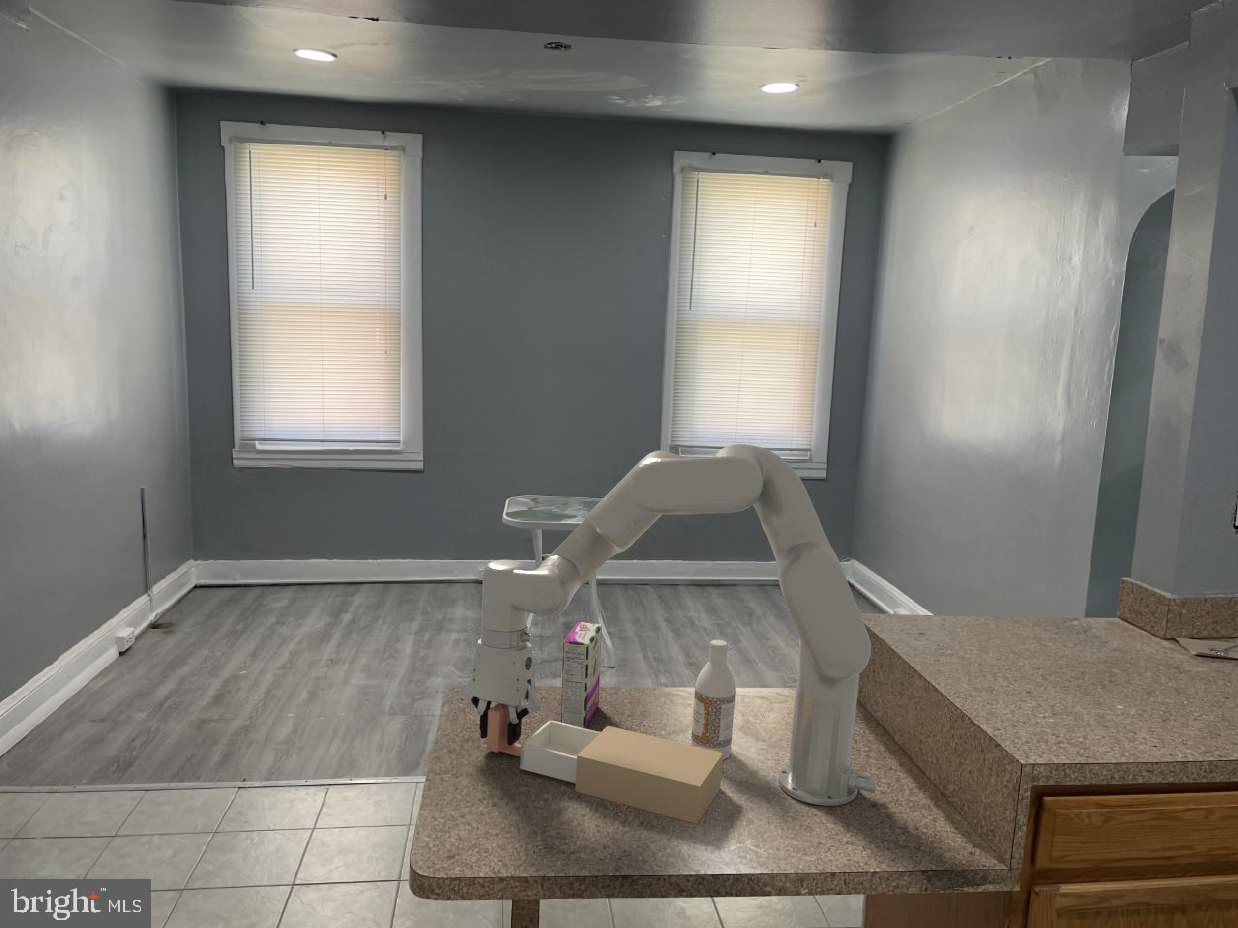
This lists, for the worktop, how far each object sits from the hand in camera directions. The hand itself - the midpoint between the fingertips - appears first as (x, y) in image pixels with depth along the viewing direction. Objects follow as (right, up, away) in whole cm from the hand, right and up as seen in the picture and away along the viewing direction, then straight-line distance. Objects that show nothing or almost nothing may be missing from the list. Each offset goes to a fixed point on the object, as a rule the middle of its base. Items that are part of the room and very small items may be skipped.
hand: (499, 737), depth 157 cm
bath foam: (+36, -4, +4) cm, 36 cm away
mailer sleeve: (+25, -5, -10) cm, 27 cm away
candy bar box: (+13, -1, +16) cm, 20 cm away
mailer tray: (+12, -3, -4) cm, 13 cm away
